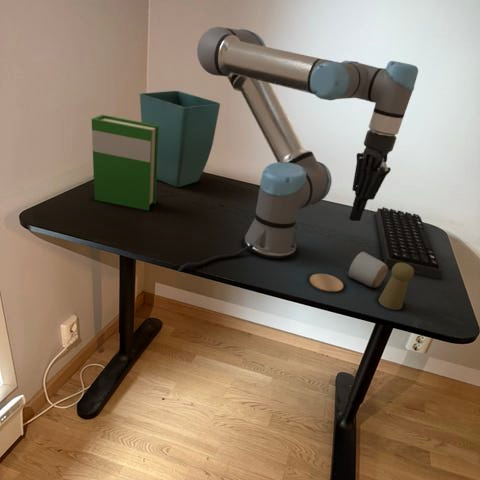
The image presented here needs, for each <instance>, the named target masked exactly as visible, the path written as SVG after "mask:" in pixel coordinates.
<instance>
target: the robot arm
mask: <svg viewBox="0 0 480 480" xmlns="http://www.w3.org/2000/svg"><path fill="white" fill-rule="evenodd" d="M196 53H197V59H198V62H199V65H200V66H201V68H203V70H204V71H205V72H207V73H208V74H210V75H212V76H218V77H226V78H227V79H228V81H229V84H230V85H231V87H232V88H233V90H234V91H237V92H241V95H242V97H243V98H244V100H245V102H246V104H247V106H248V108H249V110H250V112H251V114H252V116H253V118H254V120H255V122H256V123H257V125H258V127H259V129H260V132H261V133H262V135H263V137H264V139H265V141H266V143H267V145H268V147H269V149H270V151H271V153H272V155H273V156H274V159H275V161H276V162H273V163H270V164H268V165H267V166H266V167H264V169H263V171H262V174H261V178H260V181H259V190H258V196H257V202H256V208H255V214H254V219H253V221H252V222H251V224H250V226H249V228H248V230H247V232H246V233H245V236H244V239H243V240H244V241H243V245H244V247H243V248H242V249H241V250H238V251H235V252H233V253H227V254H218V255H214V256H211V257H208V258H206V259H204V260H202V261H198V262H187V263H185V264H182V265H181V266H180V267H179V268H178V269H177V272H182V271H183V270H184V269H186V268H188V267H200V266H202V265H205V264H208V263H210V262H213V261H215V260H218V259H219V260H220V259H225V258H233V257H238V256H240V255H241V254H243V253H245V252H246V251H249V252H250V253H252V254H254V255H256V256H258V257H261V258H265V259H271V260H285V259H290V258H291V257H293V256H294V255H296V249H297V234H296V229H295V227H296V221H297V218H298V214H299V210H301V209H303V208H307V207H309V206H312V205H315V204H317V203H319V202H320V201H322V200H324V199H325V198H326V197H327V195H329V192H330V190H331V187H332V181H333V179H332V174H331V171H330V169H329V168H328V166H327V165H325V164H324V163H322V162H320V161H318V160H317V159H316V156H315V155H314V152H313V151H312V150H310V149H306V148H305V147H304V145H303V143H302V141H301V139H300V137H299V136H298V134H297V131H296V129H295V128H294V127H295V126H293V123H292V122H291V119H290V118H289V116H288V114H287V112H286V110H285V108H284V106H283V104H282V102H281V100H280V98H279V97H278V95H277V92H276V91H275V89H274V87H273V85H275V86H280V87H283V88H287V89H291V90H296V91H300V92H304V93H308V94H311V95H314V96H315V97H317V98H318V99H320V100H325V101H335V100H342V99H358V100H362V101H366V102H370V103H373V104H374V107H373V111H372V114H371V116H370V117H371V118H370V120H369V124H368V128H369V129H368V130H367V131H366V135H365V138H364V141H363V145H364V147H365V148H364V149H363V152H361V153H360V152H356V165H355V171H354V177H353V182H352V192H354V200H353V203H352V208H351V212H350V215H349V218H348V219H349V220H350V221H352V222H360V221H361V219H362V216H363V213H364V212H365V209H366V206H367V203H368V201H369V200H370V201H371V200H375V198H376V196H377V194H378V192H379V190H380V188H381V187H382V185H383V183H384V180H385V178H386V177H387V175H389V173H390V172H391V171H392V169H391V167H390V166H389V167H388V165H387V162H388V155H389V153H390V152H392V151H393V149H394V147H395V144H396V141H397V136H396V135H398V134H399V132H400V129H401V126H402V123H403V120H404V117H405V114H406V111H407V108H408V105H409V103H410V100H411V97H412V94H413V92H414V90H415V86H416V81H417V79H418V75H419V68H418V67H417V65H414V64H411V63H406V62H401V61H395V60H389V61H388V62H387V65H386V67H385V68H383V67H376V66H372V65H370V64H365V63H361V62H359V61H353V60H343V61H342V62H339V61H334V60H330V59H326V58H325V59H324V58H319V57H314V56H310V55H305V54H301V53H297V52H291V51H288V50H284V49H278V48H273V47H268V46H266V44H265V42H264V39H262V37H261V36H260V35H259V34H257V33H256V32H254V31H251V30H249V29H244V28H240V29H237V28H229V27H223V26H214V27H210V28H209V29H207V30H205V32H203V34H202V35H201V36H200V38H199V39H198V42H197V47H196ZM161 400H162V401H165V400H166V398H165V397H163V398H161Z"/></svg>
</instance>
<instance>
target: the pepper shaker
mask: <svg viewBox="0 0 480 480" xmlns="http://www.w3.org/2000/svg"><path fill="white" fill-rule="evenodd" d="M414 274H415V273H414V269H413V267H412V266H410V265H408V264H406V263H396V264H395V265H394V266H393V268H391V276H390V278H389V280H388V281H387V283H386V285H385V287H384V289H383V291H382V292H381V294H380V296H379V298H378V303H379V304H380V305H381V306H383V307H384V308H387V309H389V310H394V311H397V310H401V309H402V308H403V306H404V305H403V304H404V301H405V296H406V292H407V288H408V285H409V281H410V280H412V278H413V277H414Z"/></svg>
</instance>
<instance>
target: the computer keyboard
mask: <svg viewBox="0 0 480 480" xmlns="http://www.w3.org/2000/svg"><path fill="white" fill-rule="evenodd" d="M375 218H376V225H377V229H378V235H379V241H380V242H379V243H380V247H381V254H382V258H383V259H382V260H383V263H385V264H386V265H387V267H388V269H392V268H393V266H394V265H395V264H396V263H406V264H408V265H410V266H412V267H413V269H414V274H415V275H421V276H425V277H429V278H434V279H438V280H439V279H440V276H441V274H442V272H443V269H442V267H441V264H440V262H439V259H438V257H437V254H436V252H435V249H434V247H433V245H432V242H431V240H430V236H429V235H428V232H427V230H426V227H425V225H424V222H423V220H422V217H421V216H420V215H419V214H416V213H411V212H407V211H405V212H404V211H402V210H399V209H398V210H396V209H392V208H390V209H389V208H387V207H385V206H382V208H380V207H377V210H376V213H375Z"/></svg>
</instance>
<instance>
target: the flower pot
mask: <svg viewBox="0 0 480 480" xmlns="http://www.w3.org/2000/svg"><path fill="white" fill-rule="evenodd" d="M139 105H140V107H139V108H140V118H141V119H140V122H143V123H148V124H153V125H158V126H159V138H158V161H157V181H160V182H162V183H165V184H168V185H170V186H173V187H176V188H181V187H183V186H187V185H190V184H193V183H196V182H199V180H200V178H201V176H202V174H203V172H204V171H205V168H206V166H207V164H208V160H209V158H210V155H211V152H212V147H213V145H214V139H215V134H216V130H217V129H216V128H217V123H218V118H219V112H220V107H221V103H220V102H218V101H214V100H211V99H207V98H204V97H200V96H197V95H193V94H190V93H188V92H183V91H179V90H168V91H167V90H166V91H155V92H153V91H152V92H143V93H139Z"/></svg>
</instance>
